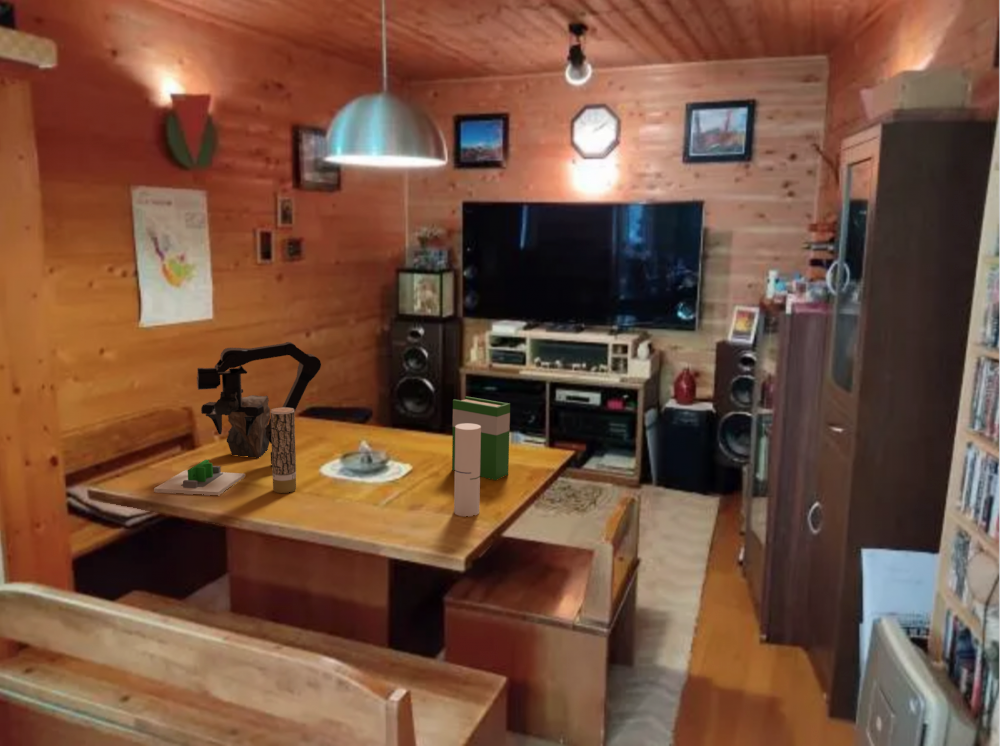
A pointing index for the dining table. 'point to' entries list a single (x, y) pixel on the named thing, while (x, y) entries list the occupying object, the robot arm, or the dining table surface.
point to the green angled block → (201, 471)
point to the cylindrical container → (467, 469)
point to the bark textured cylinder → (283, 449)
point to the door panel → (200, 483)
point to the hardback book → (486, 433)
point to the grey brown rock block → (257, 437)
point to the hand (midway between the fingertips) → (233, 434)
